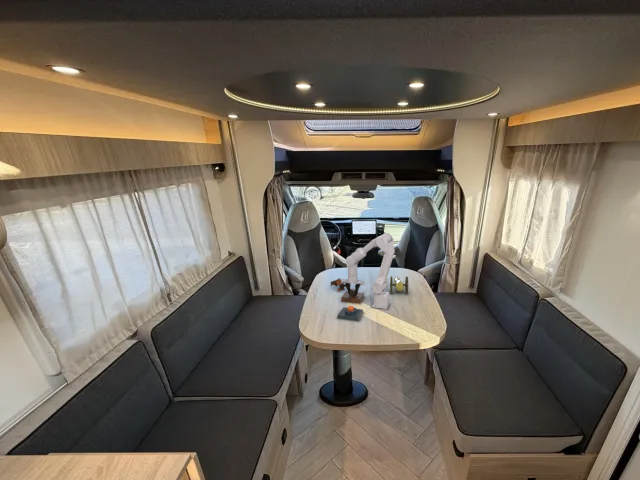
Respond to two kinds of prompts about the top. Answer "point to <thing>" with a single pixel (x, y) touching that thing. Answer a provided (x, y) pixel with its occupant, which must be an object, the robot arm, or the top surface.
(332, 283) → the brown angular figurine
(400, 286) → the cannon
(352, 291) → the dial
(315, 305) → the top surface
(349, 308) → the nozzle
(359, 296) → the base
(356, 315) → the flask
